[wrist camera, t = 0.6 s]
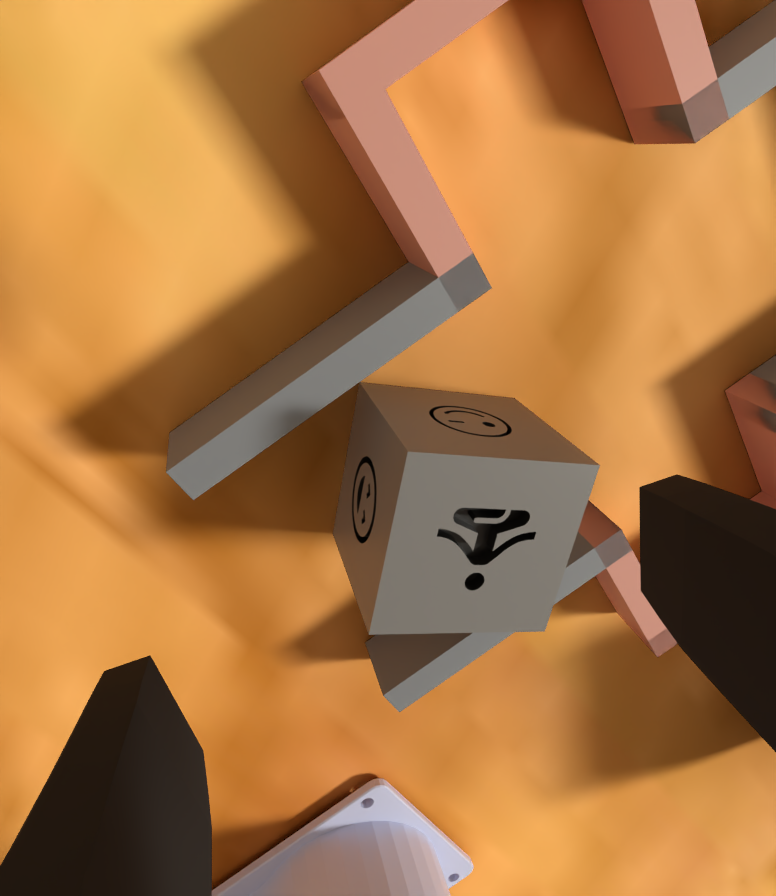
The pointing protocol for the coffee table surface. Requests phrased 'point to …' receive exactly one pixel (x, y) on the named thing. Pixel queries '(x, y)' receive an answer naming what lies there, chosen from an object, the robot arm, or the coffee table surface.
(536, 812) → the coffee table surface
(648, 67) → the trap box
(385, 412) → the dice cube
